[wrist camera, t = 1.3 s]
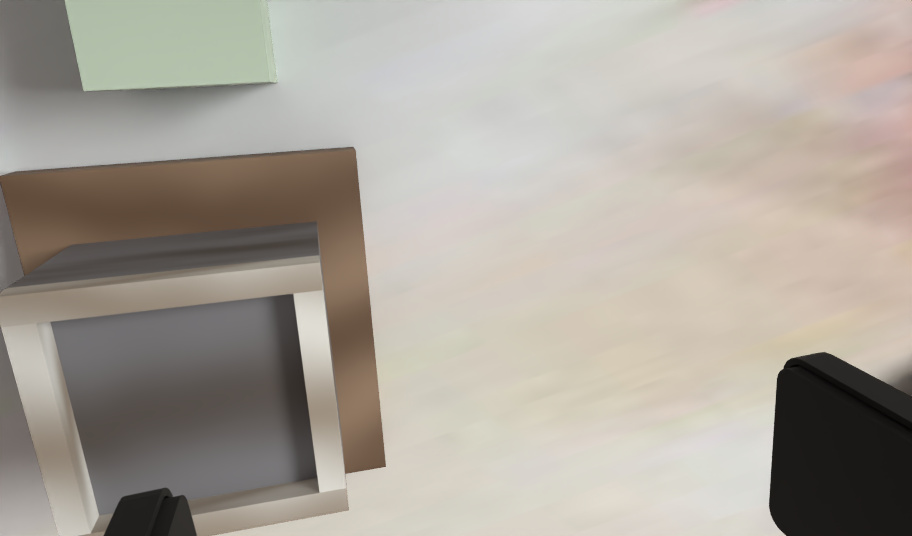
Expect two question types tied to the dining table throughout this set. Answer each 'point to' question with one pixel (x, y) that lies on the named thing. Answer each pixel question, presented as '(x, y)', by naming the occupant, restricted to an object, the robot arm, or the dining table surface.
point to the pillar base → (195, 335)
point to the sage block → (171, 43)
